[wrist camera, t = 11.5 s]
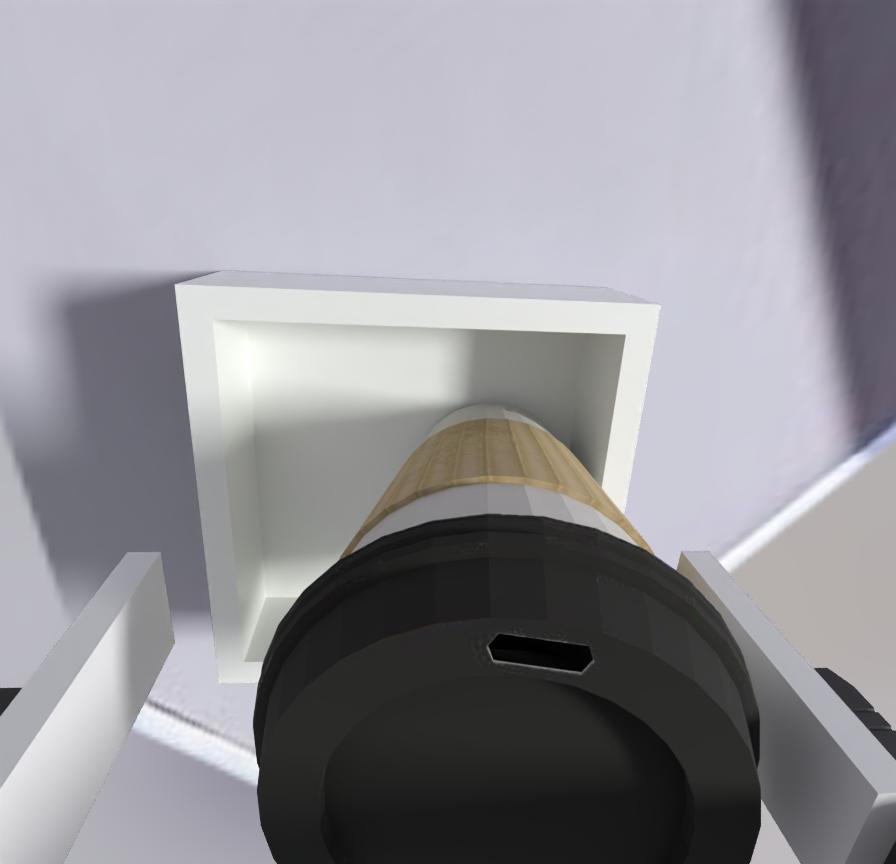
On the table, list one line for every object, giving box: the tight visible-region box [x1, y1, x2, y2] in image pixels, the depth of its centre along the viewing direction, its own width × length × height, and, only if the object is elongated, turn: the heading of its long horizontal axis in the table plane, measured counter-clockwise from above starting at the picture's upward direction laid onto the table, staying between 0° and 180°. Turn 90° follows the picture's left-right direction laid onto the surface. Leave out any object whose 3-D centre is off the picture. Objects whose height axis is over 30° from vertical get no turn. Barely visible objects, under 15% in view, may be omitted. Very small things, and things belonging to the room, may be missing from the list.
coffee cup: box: [253, 403, 761, 864], centre depth 17 cm, size 10×10×15 cm
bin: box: [175, 271, 661, 683], centre depth 22 cm, size 15×15×5 cm
